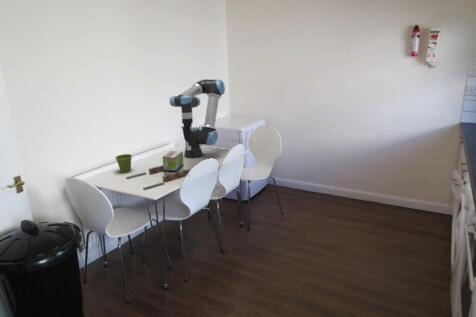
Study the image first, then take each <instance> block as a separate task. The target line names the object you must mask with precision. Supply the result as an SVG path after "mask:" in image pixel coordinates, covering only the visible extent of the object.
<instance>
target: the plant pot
mask: <svg viewBox="0 0 476 317" xmlns="http://www.w3.org/2000/svg"><path fill="white" fill-rule="evenodd" d="M132 157H133V155H132V154H131V153H130V154H129V153H125V154H119V155H116V156H115V157H114V158H115V160H116V162H117V165H118V168H119V171H120V173H129V172H130V171H132Z"/></svg>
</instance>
